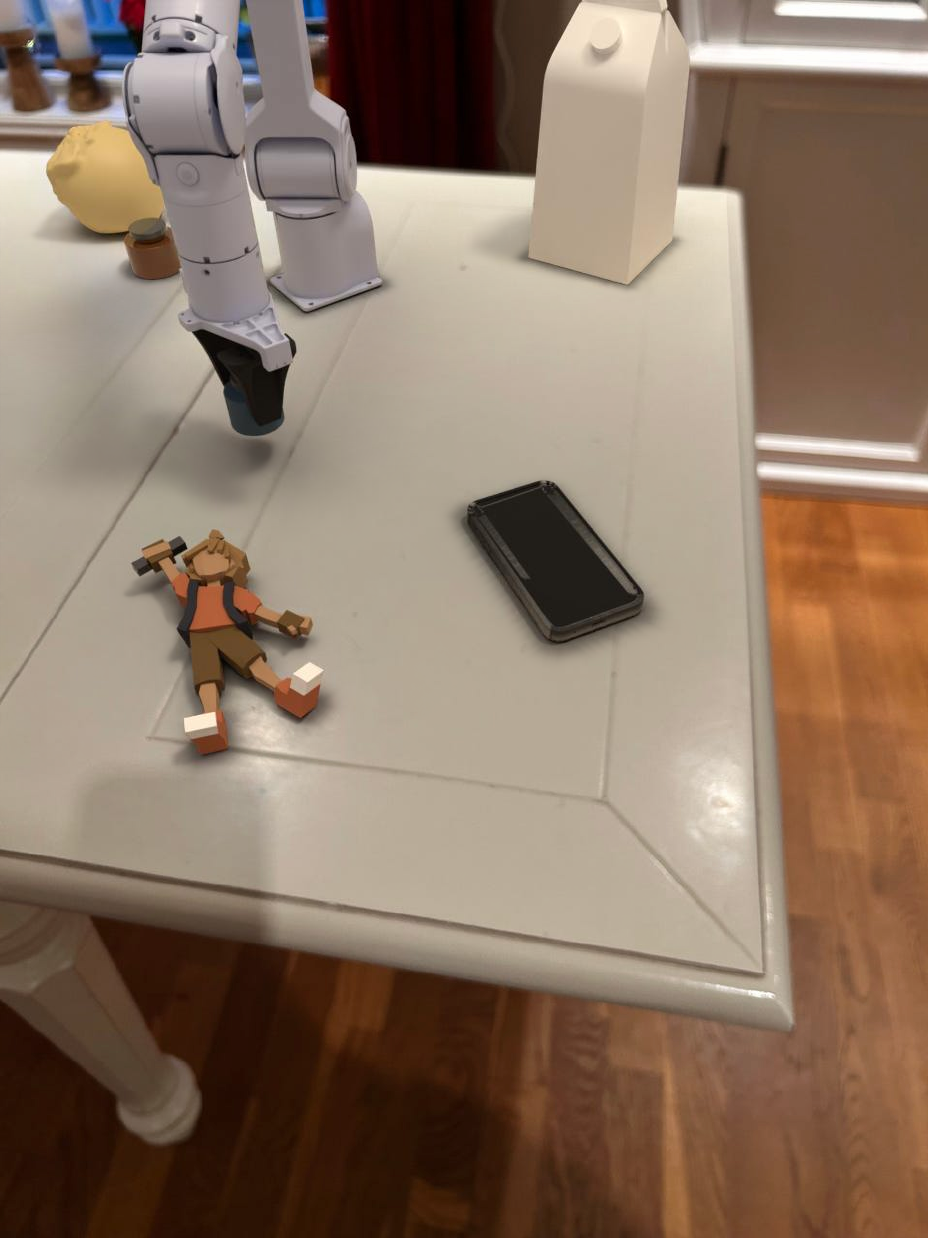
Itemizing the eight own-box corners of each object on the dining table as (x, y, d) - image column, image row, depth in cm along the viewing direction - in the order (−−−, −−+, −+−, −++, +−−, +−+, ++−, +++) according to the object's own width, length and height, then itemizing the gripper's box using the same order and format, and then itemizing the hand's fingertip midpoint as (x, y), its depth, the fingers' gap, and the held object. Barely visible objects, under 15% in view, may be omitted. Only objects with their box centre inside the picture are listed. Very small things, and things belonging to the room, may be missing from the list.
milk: (672, 240, 103) (714, -39, 83) (627, 284, 96) (662, -6, 77) (577, 216, 107) (596, -54, 88) (528, 257, 101) (537, -24, 81)
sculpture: (94, 199, 113) (64, 104, 105) (187, 203, 112) (164, 107, 104) (54, 242, 105) (18, 143, 97) (153, 247, 104) (125, 147, 96)
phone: (550, 476, 73) (650, 599, 64) (549, 487, 74) (648, 610, 65) (461, 504, 71) (550, 635, 62) (461, 515, 72) (550, 646, 63)
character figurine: (130, 742, 55) (120, 522, 65) (152, 778, 59) (139, 566, 69) (329, 700, 56) (288, 492, 67) (337, 738, 60) (298, 537, 71)
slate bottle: (269, 398, 78) (259, 353, 75) (294, 423, 75) (285, 377, 72) (222, 417, 76) (210, 371, 73) (246, 443, 74) (234, 397, 71)
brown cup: (171, 249, 104) (161, 209, 100) (192, 268, 101) (182, 227, 97) (124, 264, 101) (112, 223, 98) (144, 284, 98) (132, 242, 95)
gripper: (125, 223, 67) (172, 382, 77) (210, 303, 59) (251, 469, 69) (212, 197, 70) (248, 354, 80) (305, 270, 62) (331, 434, 72)
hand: (254, 405), depth 75 cm, fingers closed on slate bottle, 4 cm apart
